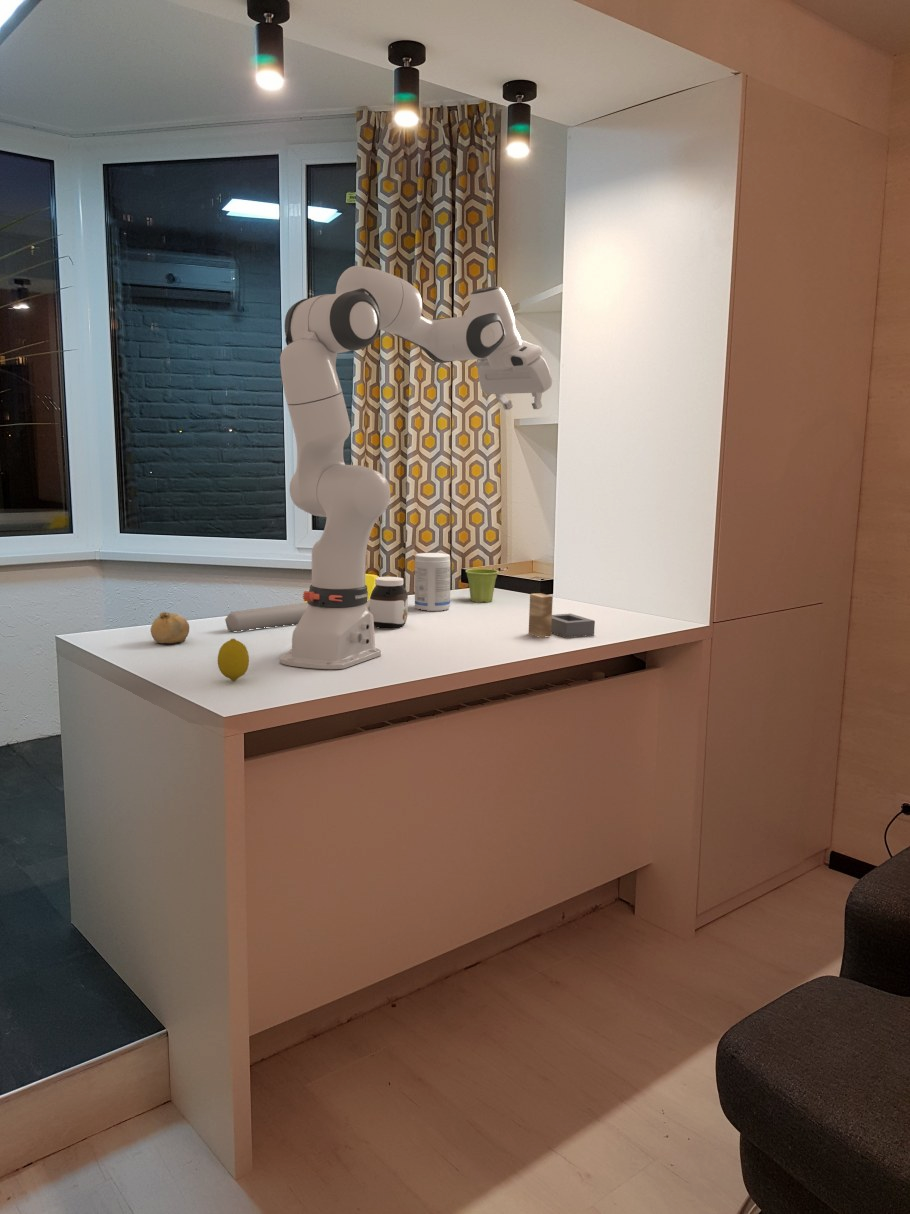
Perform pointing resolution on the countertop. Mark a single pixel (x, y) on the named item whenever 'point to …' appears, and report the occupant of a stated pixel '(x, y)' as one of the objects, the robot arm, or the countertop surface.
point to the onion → (169, 628)
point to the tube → (265, 617)
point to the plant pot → (481, 584)
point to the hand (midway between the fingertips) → (523, 408)
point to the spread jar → (388, 603)
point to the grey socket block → (572, 625)
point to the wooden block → (540, 614)
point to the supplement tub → (432, 581)
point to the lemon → (233, 659)
